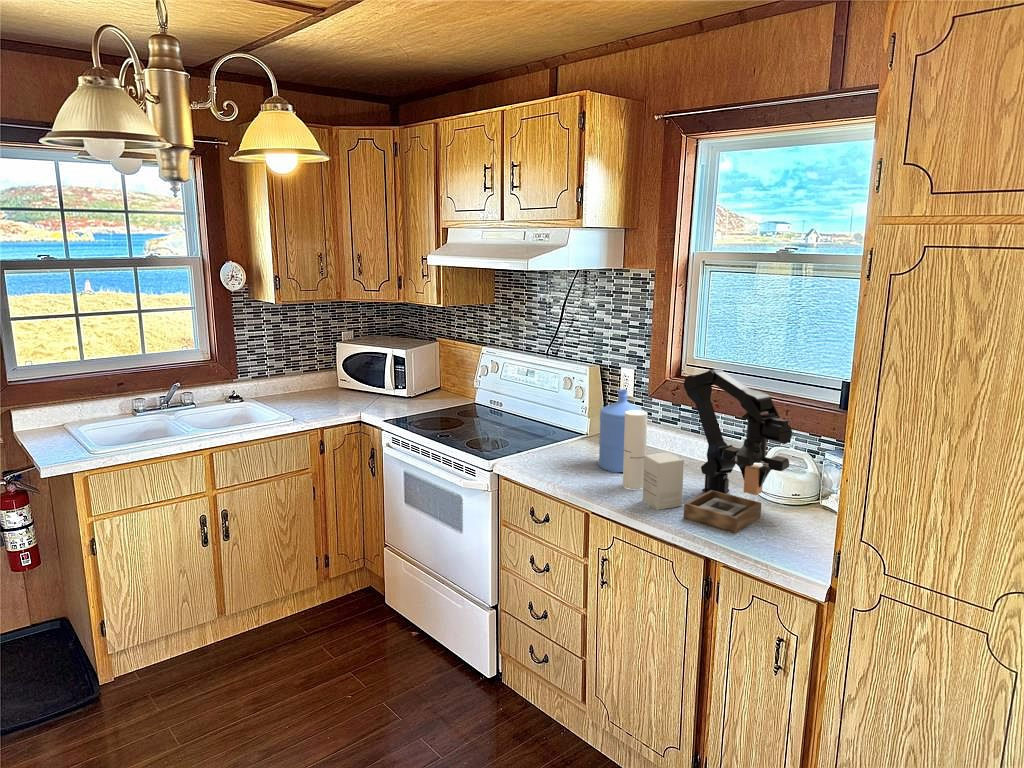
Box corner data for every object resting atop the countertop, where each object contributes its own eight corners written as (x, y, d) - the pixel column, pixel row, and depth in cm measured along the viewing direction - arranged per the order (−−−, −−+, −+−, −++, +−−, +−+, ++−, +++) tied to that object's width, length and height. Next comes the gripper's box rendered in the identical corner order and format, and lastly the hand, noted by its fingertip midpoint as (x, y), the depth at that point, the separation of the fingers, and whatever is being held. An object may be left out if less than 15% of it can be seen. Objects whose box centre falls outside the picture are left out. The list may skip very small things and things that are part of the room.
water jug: (613, 476, 239) (616, 396, 234) (590, 463, 253) (592, 388, 248) (651, 470, 246) (654, 392, 240) (626, 457, 260) (629, 384, 254)
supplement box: (666, 496, 220) (668, 451, 217) (682, 506, 212) (685, 459, 209) (641, 500, 217) (643, 454, 214) (656, 510, 209) (658, 462, 206)
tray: (683, 518, 203) (684, 503, 202) (710, 503, 214) (711, 489, 213) (735, 533, 192) (736, 518, 191) (760, 517, 203) (761, 502, 202)
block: (743, 492, 211) (745, 466, 210) (749, 488, 214) (751, 463, 212) (756, 495, 208) (757, 469, 207) (761, 491, 211) (763, 466, 210)
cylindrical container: (631, 481, 234) (633, 409, 229) (649, 486, 229) (651, 412, 224) (618, 486, 229) (620, 412, 224) (636, 491, 224) (638, 416, 219)
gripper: (714, 435, 208) (712, 485, 211) (775, 447, 196) (772, 500, 199) (732, 428, 216) (729, 476, 219) (791, 439, 204) (787, 490, 207)
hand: (753, 485), depth 211 cm, fingers closed on block, 4 cm apart
